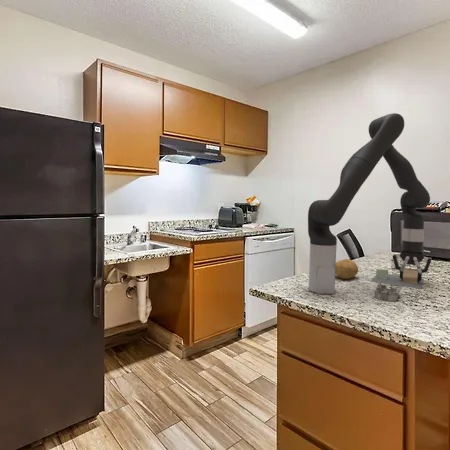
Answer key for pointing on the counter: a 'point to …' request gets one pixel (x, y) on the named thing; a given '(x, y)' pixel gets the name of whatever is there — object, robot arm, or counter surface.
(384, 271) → the sage block
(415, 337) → the counter surface
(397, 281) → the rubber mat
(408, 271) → the maple block
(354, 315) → the counter surface
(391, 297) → the miniature stone castle
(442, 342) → the counter surface
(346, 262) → the potato
